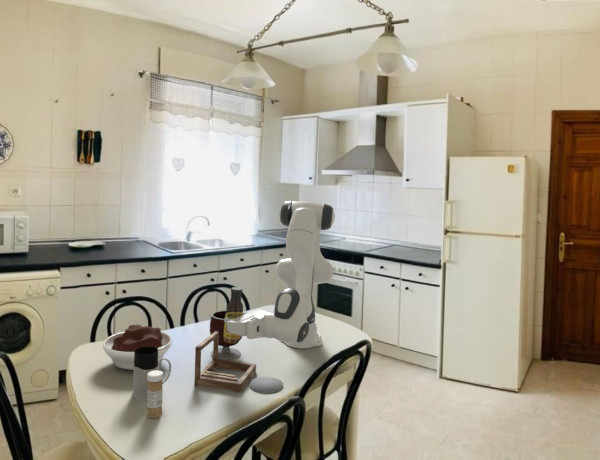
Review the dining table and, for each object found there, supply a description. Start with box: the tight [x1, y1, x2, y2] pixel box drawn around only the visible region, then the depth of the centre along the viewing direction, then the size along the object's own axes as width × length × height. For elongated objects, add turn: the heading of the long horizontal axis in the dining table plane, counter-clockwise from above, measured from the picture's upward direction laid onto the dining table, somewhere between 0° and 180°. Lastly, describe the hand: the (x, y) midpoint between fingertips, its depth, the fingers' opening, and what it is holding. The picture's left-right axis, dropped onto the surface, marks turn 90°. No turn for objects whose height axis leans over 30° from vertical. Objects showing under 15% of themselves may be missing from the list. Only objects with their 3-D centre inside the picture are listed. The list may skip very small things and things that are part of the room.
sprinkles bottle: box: [146, 370, 164, 419], centre depth 139 cm, size 5×5×13 cm
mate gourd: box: [209, 309, 243, 361], centre depth 190 cm, size 16×14×20 cm
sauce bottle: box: [224, 286, 244, 344], centre depth 166 cm, size 7×6×20 cm
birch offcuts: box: [202, 371, 239, 382], centre depth 163 cm, size 4×12×4 cm, turn 78°
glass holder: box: [131, 347, 172, 401], centre depth 151 cm, size 9×14×15 cm, turn 69°
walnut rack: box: [193, 331, 257, 393], centre depth 167 cm, size 18×17×14 cm
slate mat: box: [248, 376, 284, 394], centre depth 164 cm, size 12×12×1 cm
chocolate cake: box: [102, 324, 173, 371], centre depth 175 cm, size 25×25×15 cm
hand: (231, 316), depth 167 cm, fingers closed on sauce bottle, 6 cm apart
